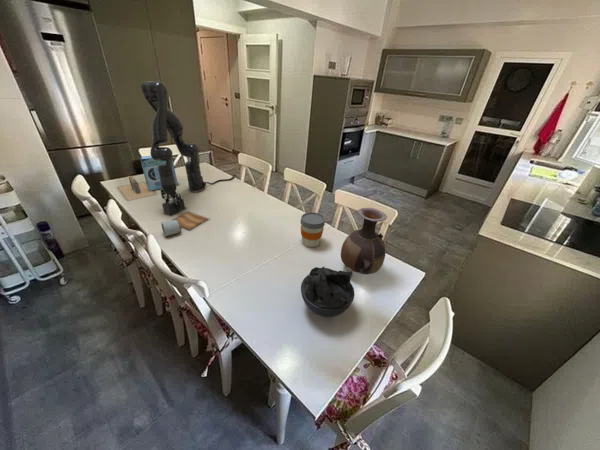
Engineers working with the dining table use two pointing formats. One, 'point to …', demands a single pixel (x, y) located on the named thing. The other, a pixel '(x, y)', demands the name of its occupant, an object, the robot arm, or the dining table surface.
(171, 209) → the tissue box
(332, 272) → the coal bowl
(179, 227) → the ceramic mug
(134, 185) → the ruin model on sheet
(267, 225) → the dining table surface
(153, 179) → the gum box
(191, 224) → the wooden cutting board
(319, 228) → the reusable coffee cup
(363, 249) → the vase
